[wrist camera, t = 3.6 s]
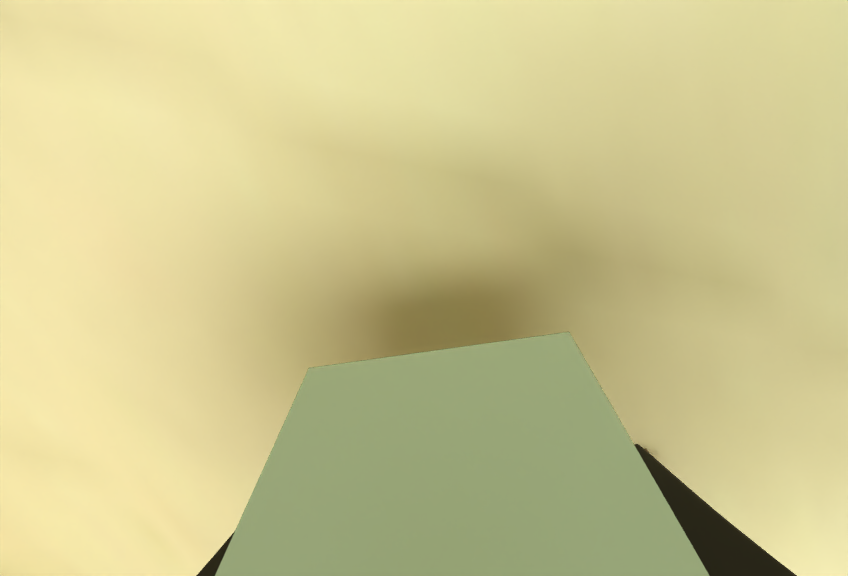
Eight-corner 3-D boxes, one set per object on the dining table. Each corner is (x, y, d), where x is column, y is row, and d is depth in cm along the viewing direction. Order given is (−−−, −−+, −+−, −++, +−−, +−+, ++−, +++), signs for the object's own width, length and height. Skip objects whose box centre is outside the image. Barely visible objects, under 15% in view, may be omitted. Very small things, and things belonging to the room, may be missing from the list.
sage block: (568, 332, 9) (722, 598, 4) (584, 537, 10) (710, 903, 6) (309, 367, 9) (179, 653, 4) (360, 562, 11) (305, 927, 6)
